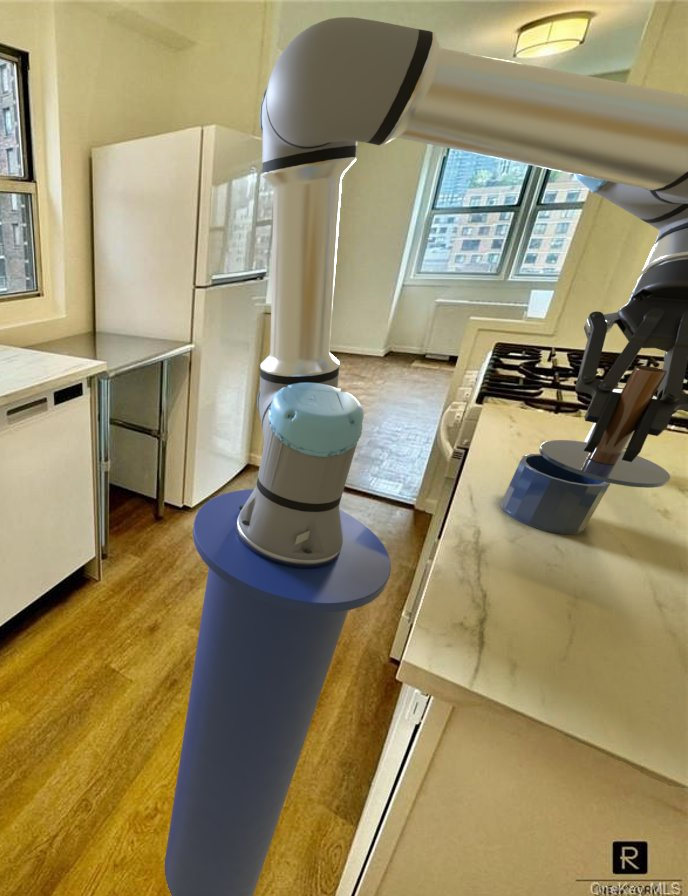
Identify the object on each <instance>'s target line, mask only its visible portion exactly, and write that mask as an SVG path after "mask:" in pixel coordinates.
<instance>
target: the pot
mask: <svg viewBox="0 0 688 896" xmlns="http://www.w3.org/2000/svg"><path fill="white" fill-rule="evenodd" d="M610 485H611V483H608V482H603V481H599V480H595V479H592V478H588V477H585V476H582V475H579V474H576V473H573V472H571V471H568V470H566V469H563V468H561V467H559V466H557V465H555V464H553V463H551V462H550V461H548V460H547V459H545V458H544V457H543V456H542V455H541V454H540V453H529V454H525V455H522V457H521V459H520V461H519V463H518V465H517V467H516V469H515V472H514V474H513V475H512V478H511V480H510V482H509V484H508V487H507V489H506V491H505V493H504V495H503V498H502V500H501V502H500V507H501V509H502V510H503V511H504V513H506V514H507V515H508V516H510V517H511V518H513V519H515V521H518V522H520V523H521V524H524V525H527V526H529V527H532V528H535V529H536V530H537V529H538V530H541V531H545V532H549V533H552V534H559V535H576V534H580V533H583V532H584V530H585V529H586V527H587V526H588V524H589V522H590V521H591V518H592V517H593V515H594V513H595V512H596V510H597V508H598V506H599V504H600V502H601V501H602V499H603V498H604V496H605V494H606V492H607V490H608V489H609V487H610Z"/></svg>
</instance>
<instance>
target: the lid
mask: <svg viewBox="0 0 688 896" xmlns="http://www.w3.org/2000/svg"><path fill="white" fill-rule="evenodd" d="M666 373H667V371H665V370H663V368H660V367H659V368H658V367H653V366H647V365H636V366H634V368H633V370H632V371H631V373H630V375H629V377H628V379H627V381H626V383H625V384H624V387H623V388H622V389H623V390H622V392H621V393H622V394H621V396H620V398H619V400H618V403H617V405H616V407H615V409H614V412H613V414H612V416H611V418H610V421H609V423H608V425H607V427H606V430H605V432H604V434H603V436H602V439H601V441H600V443H599V445H598V446H597V447H596V449H595V450H594V452H593V453H591V452H586V451H584V449H585V447H586V444H587V442H584V441H579V440H571V439H569V440H568V439H553V440H546V441H544V442H542V443H541V444H540V446H539V448H538V452H539V454H541V455H542V456H543V457H544V458H545V459H547V460H548V461H550V462H551V463H553V464H555V465H557V466H559V467H561V468H563V469H566V470H568V471H571V472H573V473H576V474H579V475H582V476H585V477H588V478H592V479H595V480H599V481H603V482H608V483H610V484H613V485H619V486H625V487H632V488H645V489H646V488H647V489H650V488H653V489H654V488H660V487H664V486H666V485H667V484H668V483H669V482H670V480H671V475H670V473H669V472H668V471H667V469H665V468H664V467H663V466H660V465H659V464H658V463H655V462H653V461H651V460H649V459H647V458H645V457H642V456H640V455H637V456H636V458H635V459H634V460H633V461H632V462H628V461H624V460H622V458H623V456H624V453H625V451H623V450H624V448H625V446H626V445H627V443H628V441H629V439H630V438H631V436H632V434H633V432H634V430H635V428H636V427H637V425H638V423H639V421H640V420H641V418H642V416H643V414H644V412H645V411H646V409H647V407H648V405H649V403H650V402H651V400H652V398H653V396H656V393H657V392H658V389H659V386H660V384H661V382H662V380H663V379H664V377H665V375H666Z"/></svg>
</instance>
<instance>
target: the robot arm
mask: <svg viewBox="0 0 688 896" xmlns="http://www.w3.org/2000/svg"><path fill="white" fill-rule="evenodd" d="M259 126H260V130H261V135H262V152H261V153H262V156H261V157H262V160H261V161H262V162H261V163H262V164H261V165H262V168H261V171H262V172H261V173H262V178H263V179H264V180H265V181H266V182H268V183H269V185H271V186H272V188H273V194H272V195H273V196H272V197H273V199H272V200H273V201H272V203H273V205H272V206H273V207H272V249H271V251H272V253H271V297H270V298H271V300H270V301H271V302H270V303H271V305H270V307H271V308H270V347H269V349H270V351H269V352H270V353H269V355H268V356H267V357H266V358H265V359H263V361H262V362H261V363H260V366H259V389H258V394H257V400H256V401H257V402H256V403H257V410H258V415H259V417H260V424H261V430H262V438H263V447H262V452H261V458H260V462H259V463H260V464H259V468H258V474H257V479H256V484H255V487H254V490H253V492H252V494H251V495H250V497H249V498H248V500H247V502H246V503H245V505H240V507H239V509H240V510H241V511H240V514H239V516H238V520H237V526H236V531H237V535H238V537H239V539H240V540H241V542H242V543H243V544H244V545H245V546H246V547H247V548H248V549H249V550H250V551H252V552H253V553H255V554H256V555H258V556H260V557H261V558H263V559H265V560H268V561H270V562H273V563H275V564H278V565H282V566H286V567H291V568H298V569H315V568H321V567H325V566H327V565H330V564H331V563H333V562H334V561H335V560H337V558H338V557H339V555H340V552H341V548H342V545H343V533H342V525H341V517H340V510H341V509H340V504H341V500H342V497H343V494H344V490H345V486H346V484H347V479H348V476H349V473H350V469H351V467H352V462H353V459H354V456H355V453H356V448H357V445H358V442H359V441H360V438H361V437H362V433H363V432H362V431H363V421H364V409H363V407H362V404H361V402H360V401H359V400H358V399H357V398H356V397H355V396H353V394H351V393H349V392H346V391H342V389H341V388H339V377H340V376H339V375H340V360H339V359H337V357H335V356H334V355H333V354H332V353H331V351H330V350H331V338H332V337H331V336H332V335H331V334H332V324H333V323H332V321H333V308H334V307H333V306H334V292H335V278H336V265H337V252H338V251H337V250H338V239H339V238H338V237H339V223H340V208H341V197H342V196H341V194H342V179H343V177H344V175H345V173H346V172H347V171H348V170H349V169H350V168H351V167H352V166H353V164H354V163H355V162H356V161H357V149H358V142H360V143H365V144H369V145H375V146H379V147H383V146H385V145H386V144H388V143H390V142H391V141H393V140H395V139H403V140H408V141H411V142H412V141H413V142H417V143H421V144H425V145H432V146H436V147H441V148H446V149H450V150H456V151H460V152H465V153H469V154H470V153H471V154H475V155H481V156H483V157H484V156H485V157H490V158H494V159H499V160H505V161H508V162H515V163H518V164H523V165H529V166H532V167H538V168H541V169H548V170H552V171H557V172H562V173H567V174H572V175H574V178H575V180H577V182H579V183H580V184H582V185H583V186H584V187H586V188H587V189H588V190H589V191H590V193H591V194H596V195H598V196H599V197H602V198H603V199H605V200H607V201H609V202H610V203H612V204H614V205H616V206H617V207H620V208H621V209H622V210H624V211H626V212H627V213H628V214H631V215H633V216H635V217H637V218H638V219H639V220H641V221H643V222H644V223H647V225H650V226H651V227H653V228H654V229H657V230H658V234H657V236H656V239H655V241H654V244H653V245H652V249H651V251H650V252H649V255H648V258H647V260H646V262H645V264H644V266H643V268H642V270H641V273H640V277H639V278H638V279H637V282H636V284H635V286H634V288H633V290H632V293H631V295H630V297H629V299H628V302H627V303H626V304H625V305H623V306H621V307H620V308H619V309H618V311H616V312H612V313H606V314H604V313H603V312H601V311H598V310H597V311H596V310H595V311H592V312H591V313H589V315H588V317H587V319H586V322H585V323H584V326H583V330H584V334H585V336H586V339H587V341H586V344H585V349H584V351H583V356H582V360H581V363H580V367H579V372H578V376H577V378H576V383H575V391H576V392H578V393H586V394H588V395H590V397H591V401H590V403H589V406H588V408H587V410H586V412H585V415H584V421H585V422H588V423H592V424H594V423H596V424H595V426H594V429H593V431H592V433H591V435H590V438H589V440H588V442H587V444H586V447H585V449H584V451H586V452H591V453H593V452H594V450H595V449H596V447H597V446H598V445H599V443H600V441H601V439H602V436H603V434H604V432H605V430H606V427H607V425H608V423H609V421H610V418H611V416H612V414H613V412H614V409H615V407H616V405H617V403H618V400H619V398H620V396H621V394H622V393H618V392H612V391H613V390H614V389H616V387H617V385H618V384H619V382H620V380H622V378H623V376H624V375H625V373H626V372H627V371H628V369H629V367H630V366H631V365H632V363H633V361H634V360H635V358H636V357H637V356H638V354H639V353H640V352H641V350H642V349H657V350H660V351H663V352H664V357H663V361H664V362H663V367H662V370H665V371H667V373H666V375H665V377H664V379H663V380H662V382H661V384H660V386H659V387H658V389H657V394H656V397H657V398H656V399H652V400H651V402H650V403H649V405H648V407H647V409H646V411H645V412H644V414H643V416H642V418H641V420H640V421H639V423H638V425H637V427H636V428H635V430H634V433H633V435H632V437H631V440H630V442H629V444H628V446H627V449H626V451H625V453H624V456H623V458H622V460H624V461H628V462H632V461H633V460H634V459H635V458H636V456H639V454H640V453H641V452H642V449H643V447H644V445H645V442H646V439H647V438H648V436H654V437H659V436H660V435H661V434H662V433H664V431H665V430H666V429H667V428H668V426H669V423H670V421H671V419H672V417H673V414H674V412H676V411H683V412H685V413H686V412H687V413H688V393H682V391H683V387H684V381H685V377H686V371H687V367H688V94H684V93H680V92H674V91H669V90H664V89H659V88H654V87H647V86H644V85H637V84H631V83H626V82H621V81H616V80H611V79H607V78H606V79H605V78H601V77H595V76H590V75H586V74H585V75H584V74H580V73H574V72H569V71H564V70H558V69H554V68H549V67H548V68H547V67H544V66H543V67H542V66H538V65H532V64H527V63H521V62H516V61H511V60H505V59H501V58H495V57H490V56H485V55H479V54H474V53H469V52H464V51H458V50H453V49H448V48H442V47H441V46H440V43H439V39H438V35H437V33H436V32H435V31H432V30H426V29H420V28H414V27H410V26H404V25H401V24H395V23H389V22H384V21H379V20H374V19H366V18H360V17H353V16H352V17H351V16H350V17H349V16H347V17H344V16H343V17H341V16H340V17H332V18H328V19H325V20H322V21H319V22H317V23H314V24H312V25H310V26H309V27H307V28H306V29H305V30H302V31H301V32H300V33H299V34H298V35H296V36H295V37H294V38H293V39H292V41H290V42H289V43H288V45H287V46H286V47H285V48H284V49H283V51H282V52H281V54H280V55H279V57H278V59H277V60H276V62H275V65H274V67H273V69H272V71H271V74H270V77H269V81H268V84H267V86H266V88H265V90H264V92H263V96H262V99H261V103H260V110H259ZM615 325H617V327H618V329H619V330H620V331H621V333H622V334H623V335H624V337H625V338H626V340H627V341H628V342H627V344H626V345H625V347H624V348H623V349H622V351H621V353H620V354H619V356H618V357H617V358H616V360H615V361H614V363H613V365H612V366H611V367H610V369H609V370H608V372H607V373H606V375H605V377H604V378H603V379H602V380H601V379H599V378H596V376H597V372H598V369H599V364H600V360H601V356H602V353H603V348H604V345H605V340H606V336H607V334H608V333H610V332H611V330H612V329H613V326H615ZM648 434H649V435H648ZM647 435H648V436H647Z"/></svg>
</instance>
